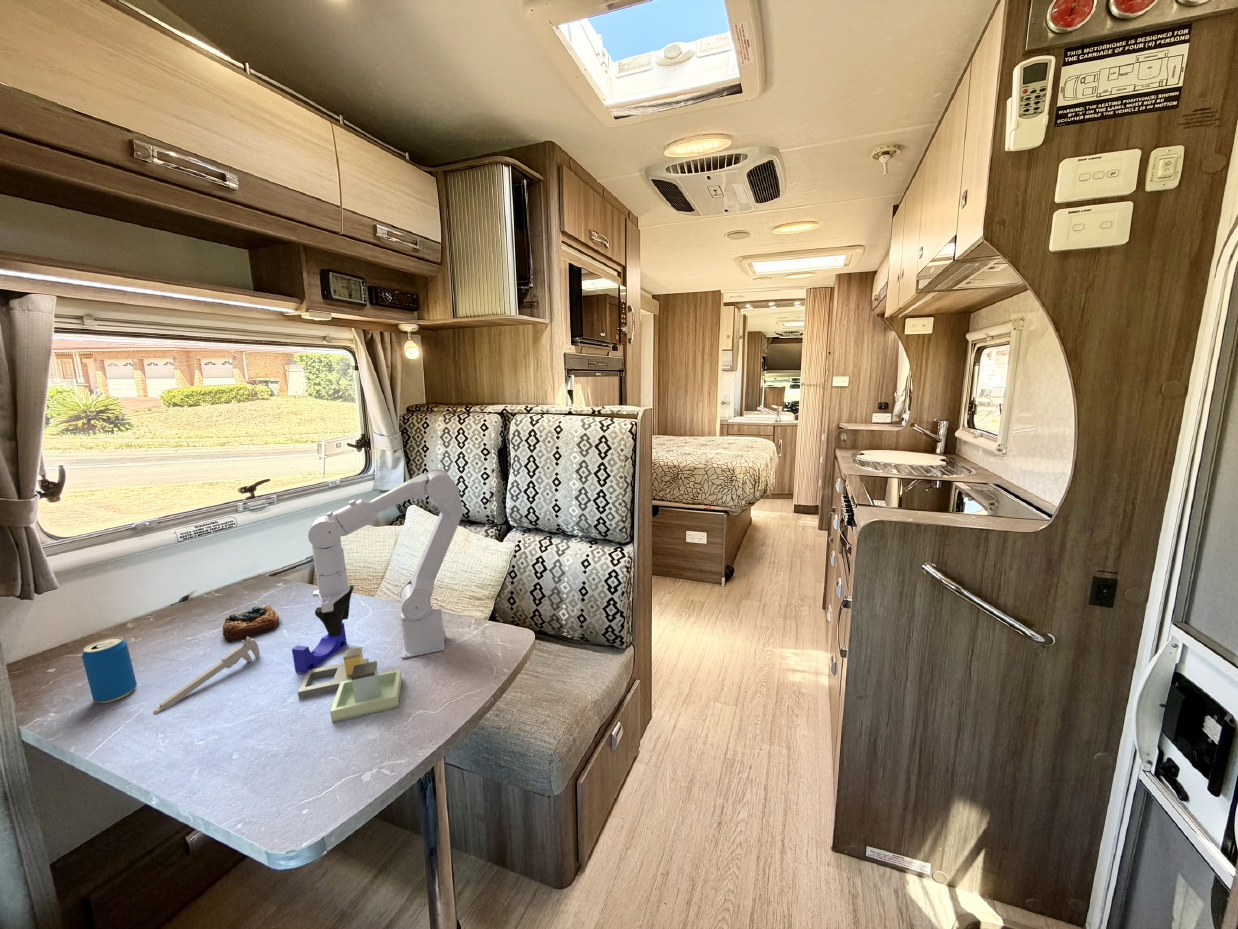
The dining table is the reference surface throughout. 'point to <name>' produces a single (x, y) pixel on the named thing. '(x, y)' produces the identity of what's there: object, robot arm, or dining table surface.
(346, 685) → the parts tray
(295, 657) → the cable clip
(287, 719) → the dining table surface
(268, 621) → the pastry
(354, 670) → the grey-green rectangular block
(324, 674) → the block
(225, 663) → the caliper
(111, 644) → the beverage can
